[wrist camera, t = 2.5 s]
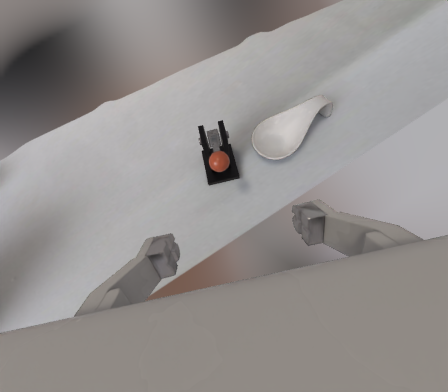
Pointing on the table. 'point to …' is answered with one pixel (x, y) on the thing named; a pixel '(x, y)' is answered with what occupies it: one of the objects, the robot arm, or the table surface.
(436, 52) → the table surface
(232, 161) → the switch bracket
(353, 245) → the robot arm
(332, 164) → the table surface
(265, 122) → the spoon rest
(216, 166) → the power lever
